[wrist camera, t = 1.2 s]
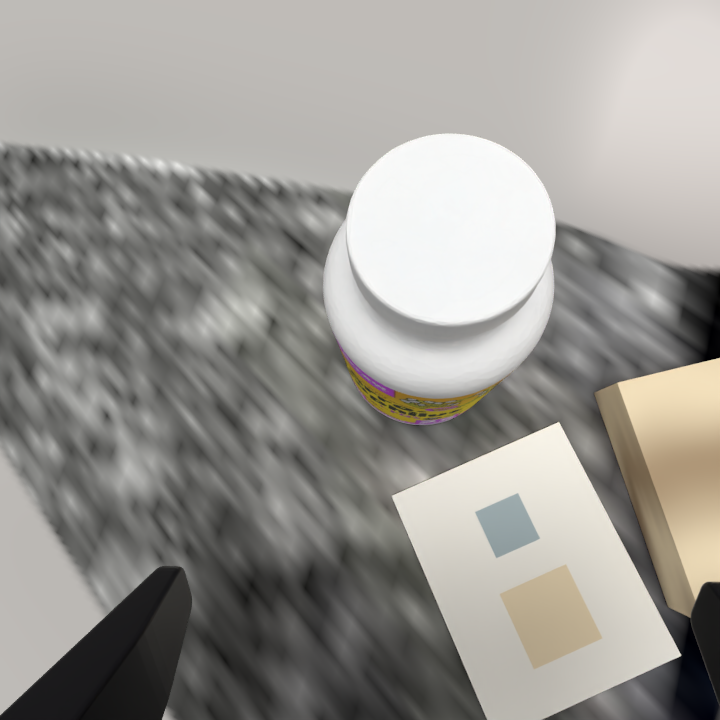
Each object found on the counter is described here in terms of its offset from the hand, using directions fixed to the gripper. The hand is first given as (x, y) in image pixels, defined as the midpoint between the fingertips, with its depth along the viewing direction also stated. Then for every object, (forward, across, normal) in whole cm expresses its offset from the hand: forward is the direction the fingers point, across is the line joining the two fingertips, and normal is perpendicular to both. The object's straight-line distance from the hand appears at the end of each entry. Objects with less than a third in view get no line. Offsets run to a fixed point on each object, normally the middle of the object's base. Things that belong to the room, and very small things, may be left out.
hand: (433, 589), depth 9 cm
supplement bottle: (+15, 0, +3) cm, 16 cm away
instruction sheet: (+9, -5, +10) cm, 14 cm away
